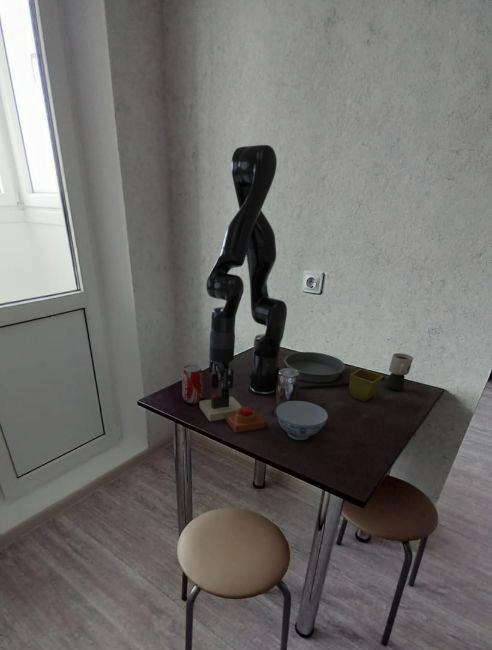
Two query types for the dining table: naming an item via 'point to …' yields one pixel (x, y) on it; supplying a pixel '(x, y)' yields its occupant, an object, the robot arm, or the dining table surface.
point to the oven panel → (219, 409)
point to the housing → (244, 421)
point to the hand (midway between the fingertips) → (219, 393)
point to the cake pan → (315, 366)
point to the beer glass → (286, 386)
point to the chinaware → (301, 418)
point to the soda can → (192, 384)
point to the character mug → (398, 370)
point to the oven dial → (219, 402)
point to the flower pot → (364, 384)
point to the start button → (245, 411)
